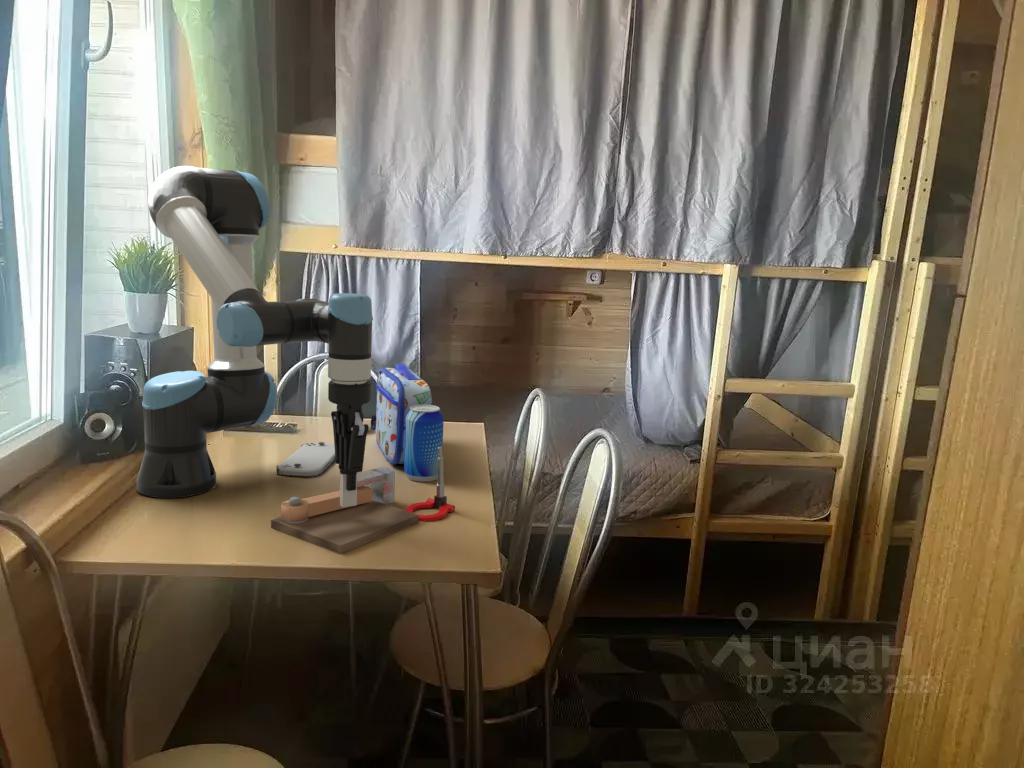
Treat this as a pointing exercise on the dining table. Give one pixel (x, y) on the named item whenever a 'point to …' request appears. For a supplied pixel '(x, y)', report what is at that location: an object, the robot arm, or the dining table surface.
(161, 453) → the robot arm
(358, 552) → the dining table surface
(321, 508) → the link
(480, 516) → the dining table surface
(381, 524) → the pintle plate
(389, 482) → the keeper
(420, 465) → the beer can
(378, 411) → the lunch box
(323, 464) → the handheld gaming console
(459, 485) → the dining table surface
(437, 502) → the tow hook
